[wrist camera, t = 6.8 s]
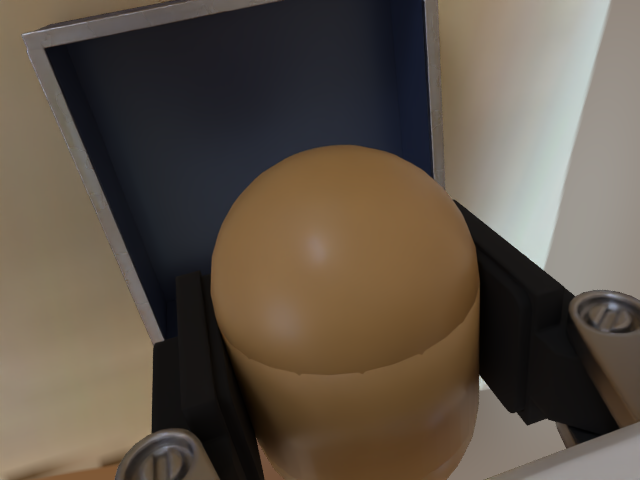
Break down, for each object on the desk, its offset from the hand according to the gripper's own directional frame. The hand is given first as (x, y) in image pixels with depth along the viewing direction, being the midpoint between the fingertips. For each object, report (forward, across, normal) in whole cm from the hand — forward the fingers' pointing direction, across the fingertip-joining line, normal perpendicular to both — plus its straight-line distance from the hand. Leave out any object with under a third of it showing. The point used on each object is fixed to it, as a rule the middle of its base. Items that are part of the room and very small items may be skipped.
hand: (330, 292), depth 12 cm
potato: (+1, 0, 0) cm, 1 cm away
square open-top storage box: (+12, 0, 0) cm, 12 cm away
